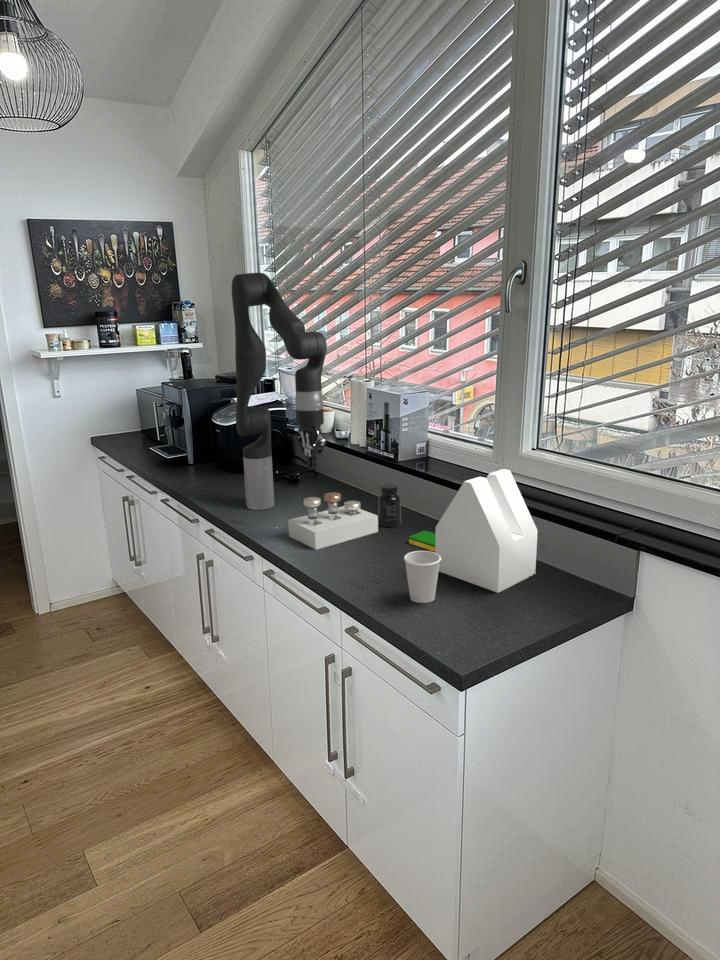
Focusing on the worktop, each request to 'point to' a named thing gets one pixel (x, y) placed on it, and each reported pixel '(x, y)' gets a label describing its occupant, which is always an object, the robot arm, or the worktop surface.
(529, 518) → the white house-shaped block
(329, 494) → the knob centre
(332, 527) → the mount
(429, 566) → the dixie cup
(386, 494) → the supplement bottle
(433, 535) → the dish sponge
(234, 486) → the worktop surface
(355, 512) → the knob
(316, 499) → the knob
